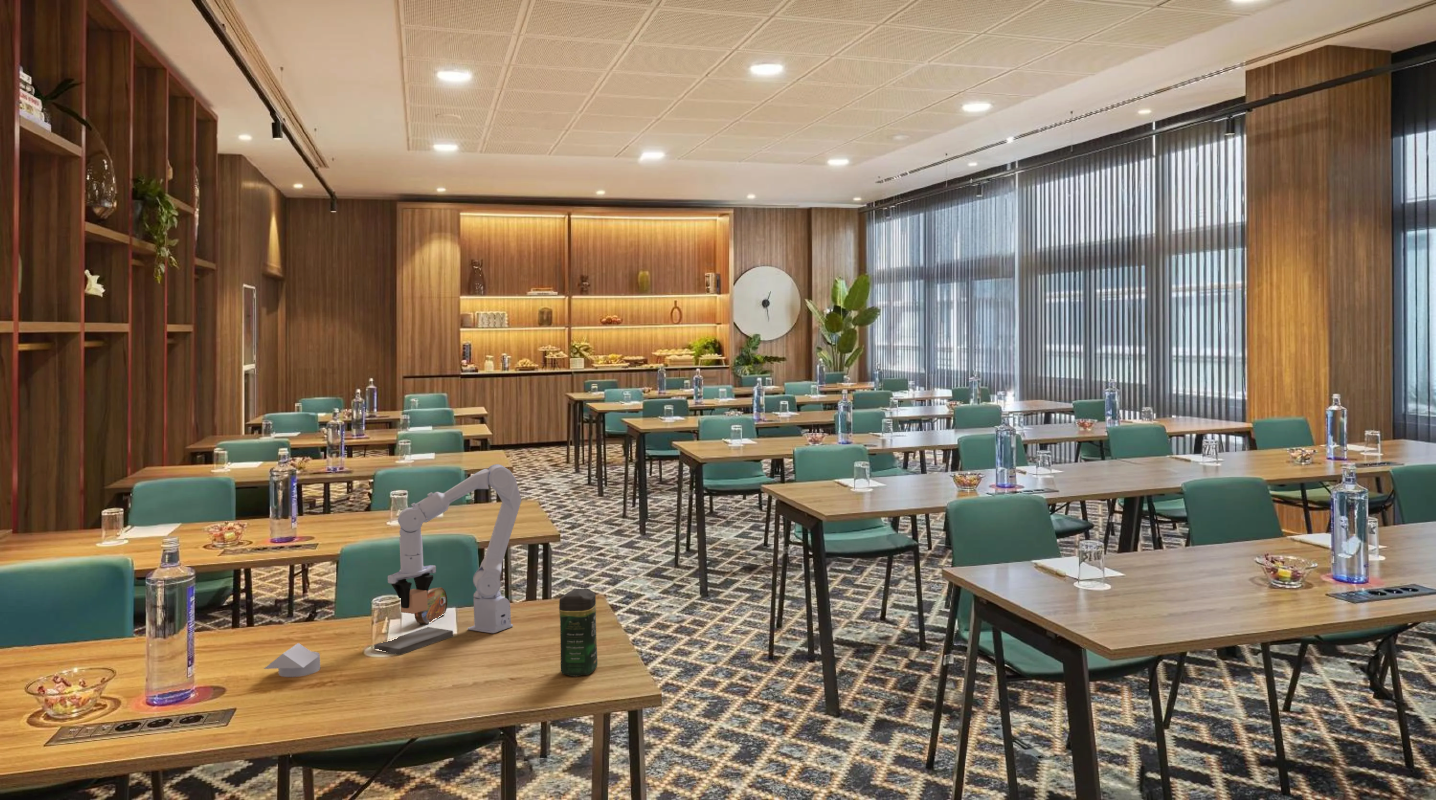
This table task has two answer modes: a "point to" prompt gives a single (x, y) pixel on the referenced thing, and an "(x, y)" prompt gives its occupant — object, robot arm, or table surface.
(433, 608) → the tin
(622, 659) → the table surface
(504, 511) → the robot arm
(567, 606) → the coffee jar
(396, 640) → the charcoal board
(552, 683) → the table surface
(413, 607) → the cube
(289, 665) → the wedge on round base
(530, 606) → the table surface
